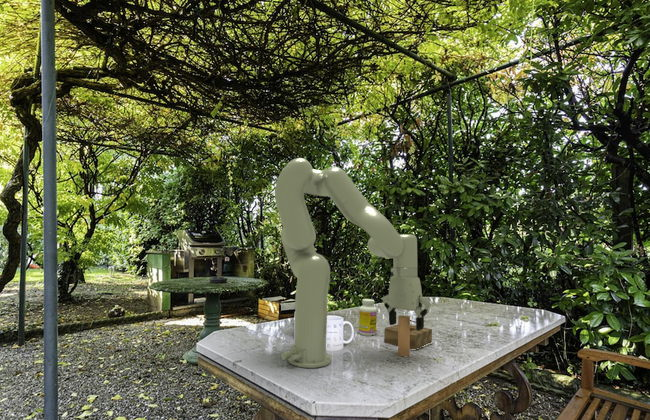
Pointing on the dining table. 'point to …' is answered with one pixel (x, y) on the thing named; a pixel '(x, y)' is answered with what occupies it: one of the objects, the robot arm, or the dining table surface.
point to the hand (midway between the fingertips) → (405, 326)
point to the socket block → (416, 336)
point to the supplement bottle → (367, 318)
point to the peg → (403, 335)
